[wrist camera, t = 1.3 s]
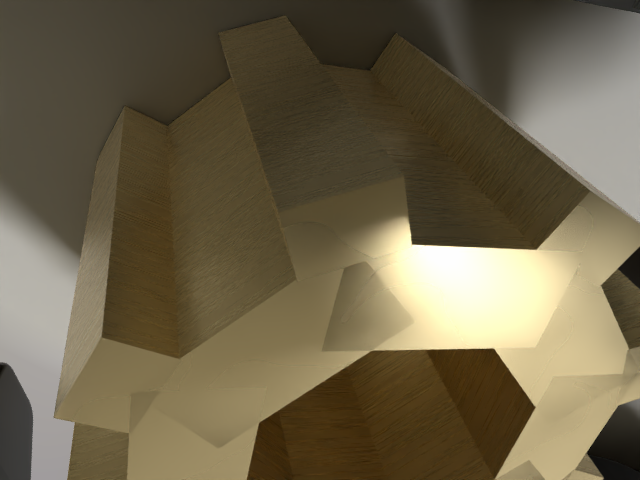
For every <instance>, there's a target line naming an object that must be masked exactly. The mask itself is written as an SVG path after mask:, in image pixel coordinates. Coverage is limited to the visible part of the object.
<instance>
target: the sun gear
mask: <svg viewBox="0 0 640 480" xmlns="http://www.w3.org/2000/svg"><path fill="white" fill-rule="evenodd" d="M632 8H634V9H637V10H640V0H635V2H634V4H633V6H632Z"/></svg>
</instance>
